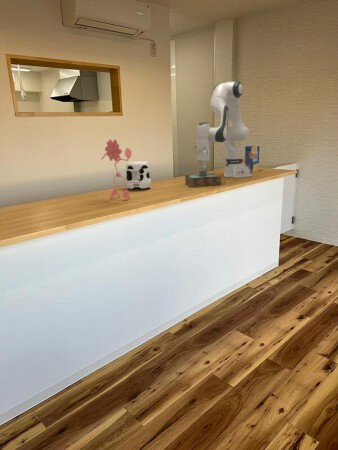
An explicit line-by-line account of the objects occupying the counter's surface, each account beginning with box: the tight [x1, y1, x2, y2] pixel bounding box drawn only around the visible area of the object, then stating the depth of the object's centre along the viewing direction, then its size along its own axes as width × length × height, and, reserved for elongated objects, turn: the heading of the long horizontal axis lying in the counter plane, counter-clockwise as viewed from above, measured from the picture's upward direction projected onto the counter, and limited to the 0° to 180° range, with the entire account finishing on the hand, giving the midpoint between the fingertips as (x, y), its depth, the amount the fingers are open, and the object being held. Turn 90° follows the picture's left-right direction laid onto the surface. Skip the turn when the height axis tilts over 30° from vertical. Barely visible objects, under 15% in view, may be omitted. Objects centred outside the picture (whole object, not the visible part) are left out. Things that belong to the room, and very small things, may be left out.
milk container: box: [125, 160, 152, 191], centre depth 224 cm, size 17×17×18 cm
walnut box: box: [184, 172, 222, 188], centre depth 234 cm, size 22×15×6 cm, turn 102°
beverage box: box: [244, 145, 260, 174], centre depth 286 cm, size 7×11×22 cm, turn 130°
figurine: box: [100, 139, 132, 205], centre depth 189 cm, size 15×26×35 cm, turn 51°
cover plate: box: [188, 170, 216, 178], centre depth 233 cm, size 18×12×5 cm, turn 102°
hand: (202, 167), depth 231 cm, fingers open, 8 cm apart
